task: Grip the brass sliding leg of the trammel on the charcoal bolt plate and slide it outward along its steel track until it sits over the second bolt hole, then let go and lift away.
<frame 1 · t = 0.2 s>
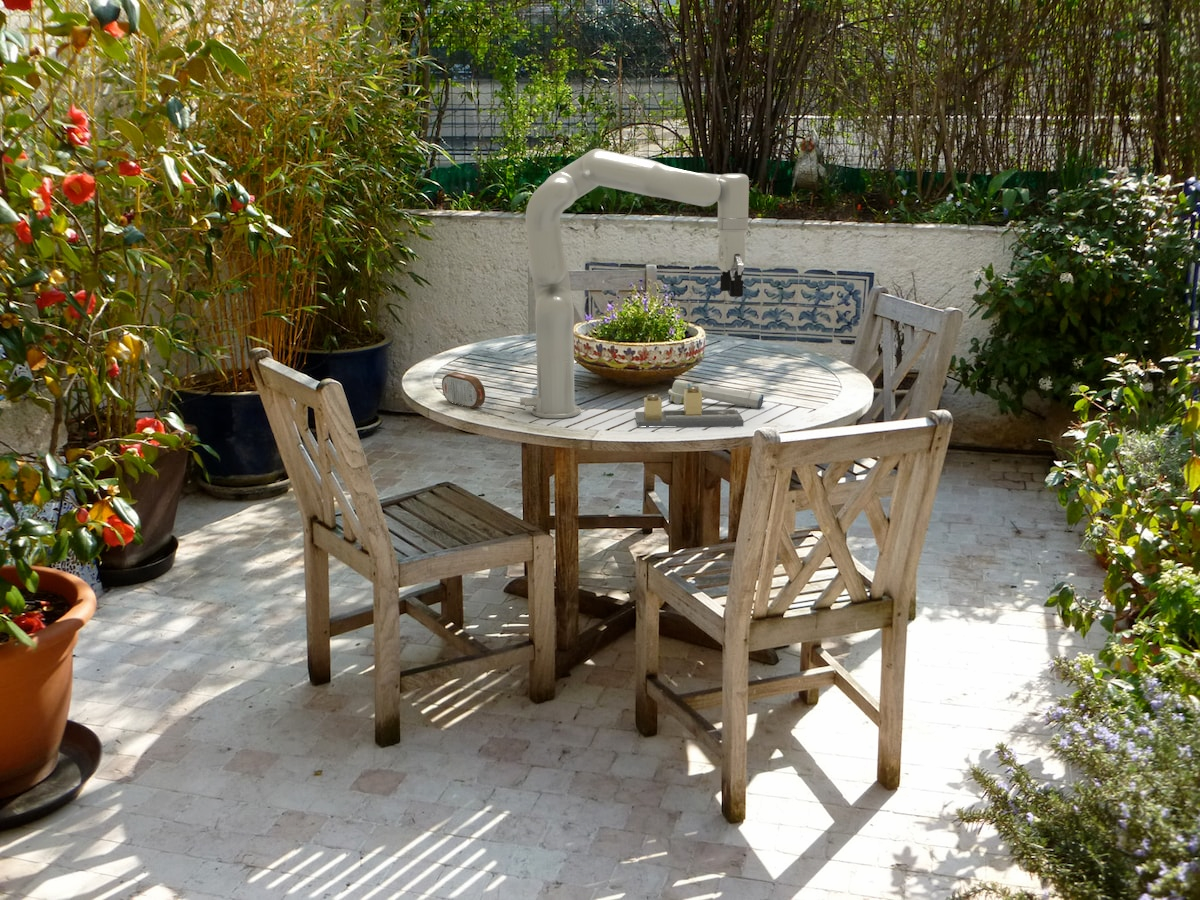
hand: (731, 293, 297), 31 cm above the table, tool pointing down, fingers open, 9 cm apart
sliding leg: (692, 400, 294), point 5 cm above the table, slide at 10.0 cm
fixed leg: (652, 422, 295), resting on bolt plate
bolt plate: (688, 421, 295), on the table
grey flashlight: (714, 406, 313), on the table
tin: (463, 406, 313), on the table
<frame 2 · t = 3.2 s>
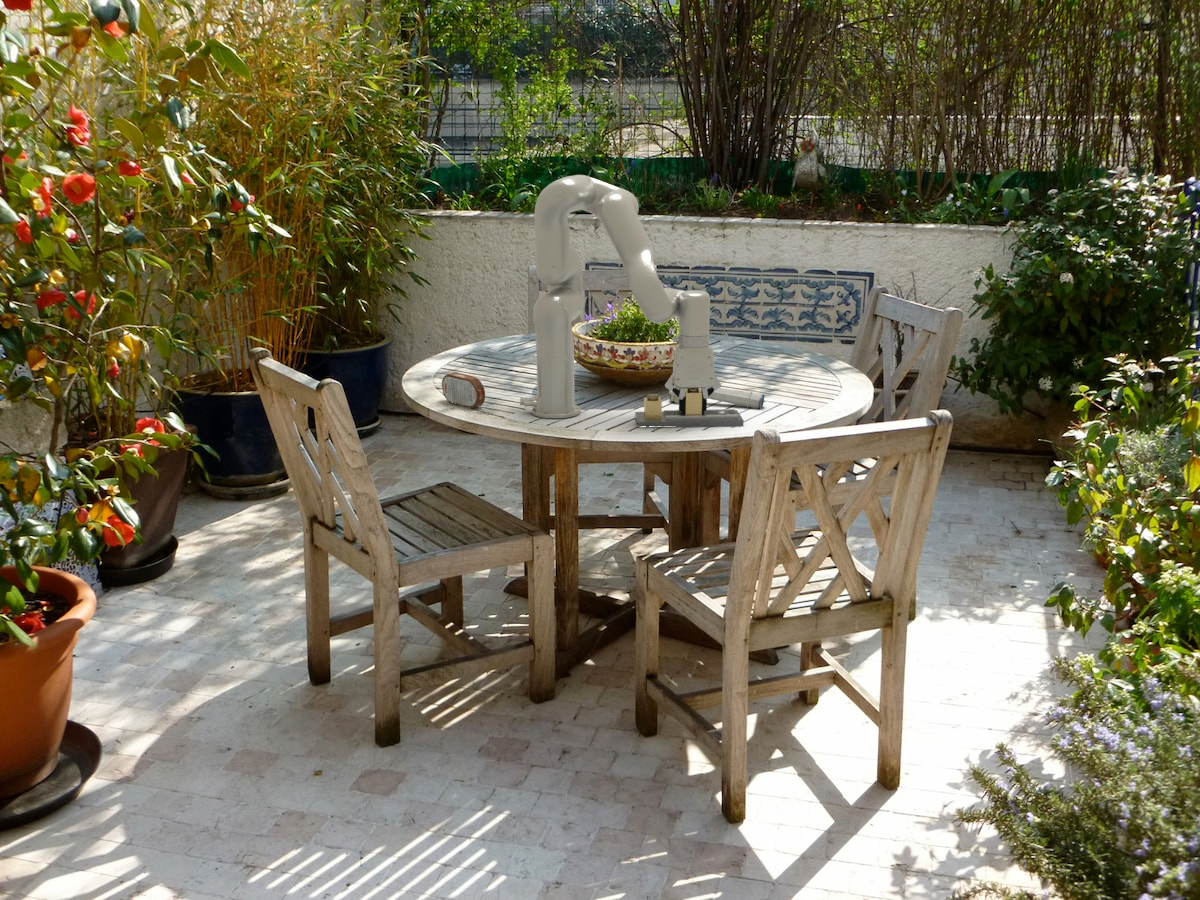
hand: (692, 412, 295), 2 cm above the table, tool pointing down, fingers closed on sliding leg, 4 cm apart
sliding leg: (692, 400, 294), point 5 cm above the table, slide at 10.0 cm, touching gripper
everything else where it was.
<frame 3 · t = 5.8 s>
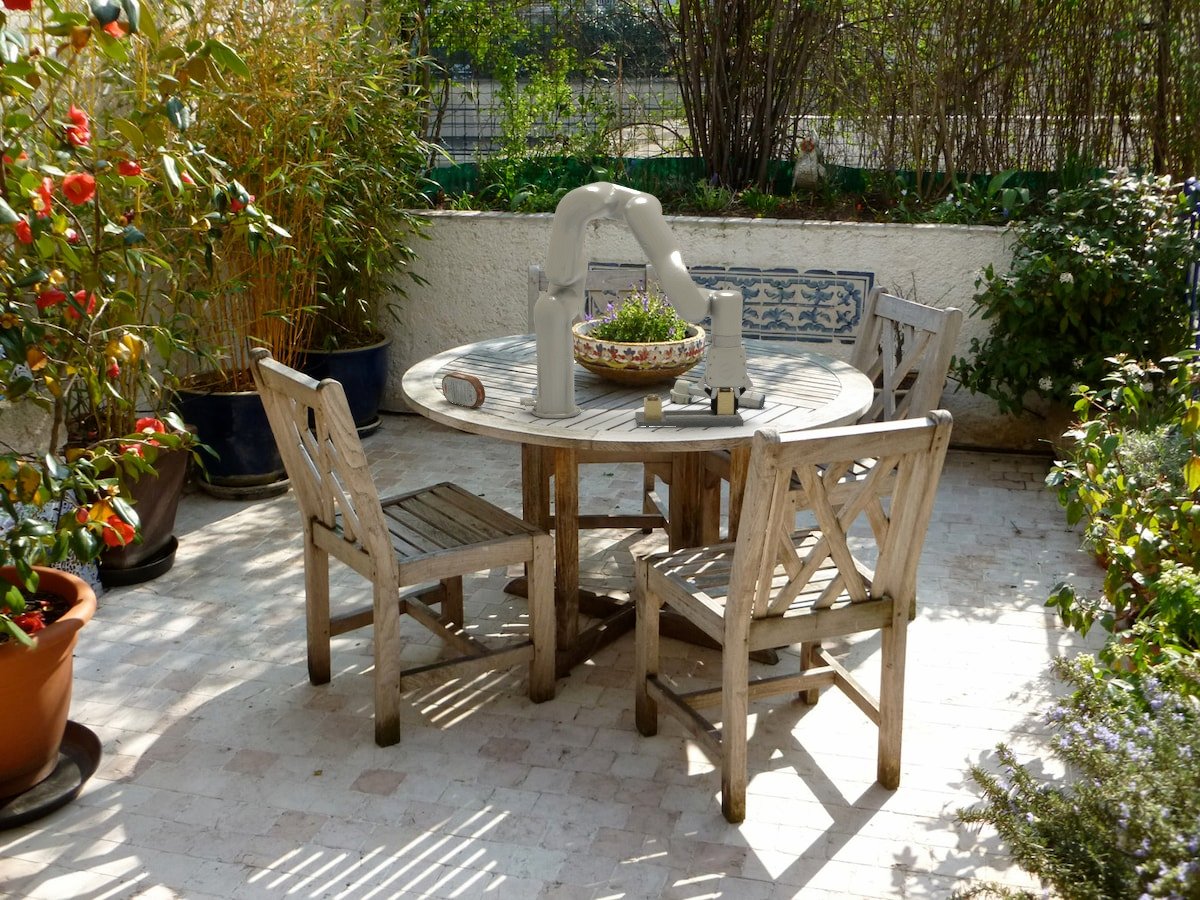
hand: (724, 412, 295), 2 cm above the table, tool pointing down, fingers closed on sliding leg, 4 cm apart
sliding leg: (724, 400, 294), point 5 cm above the table, slide at 18.0 cm, touching gripper
everything else where it was.
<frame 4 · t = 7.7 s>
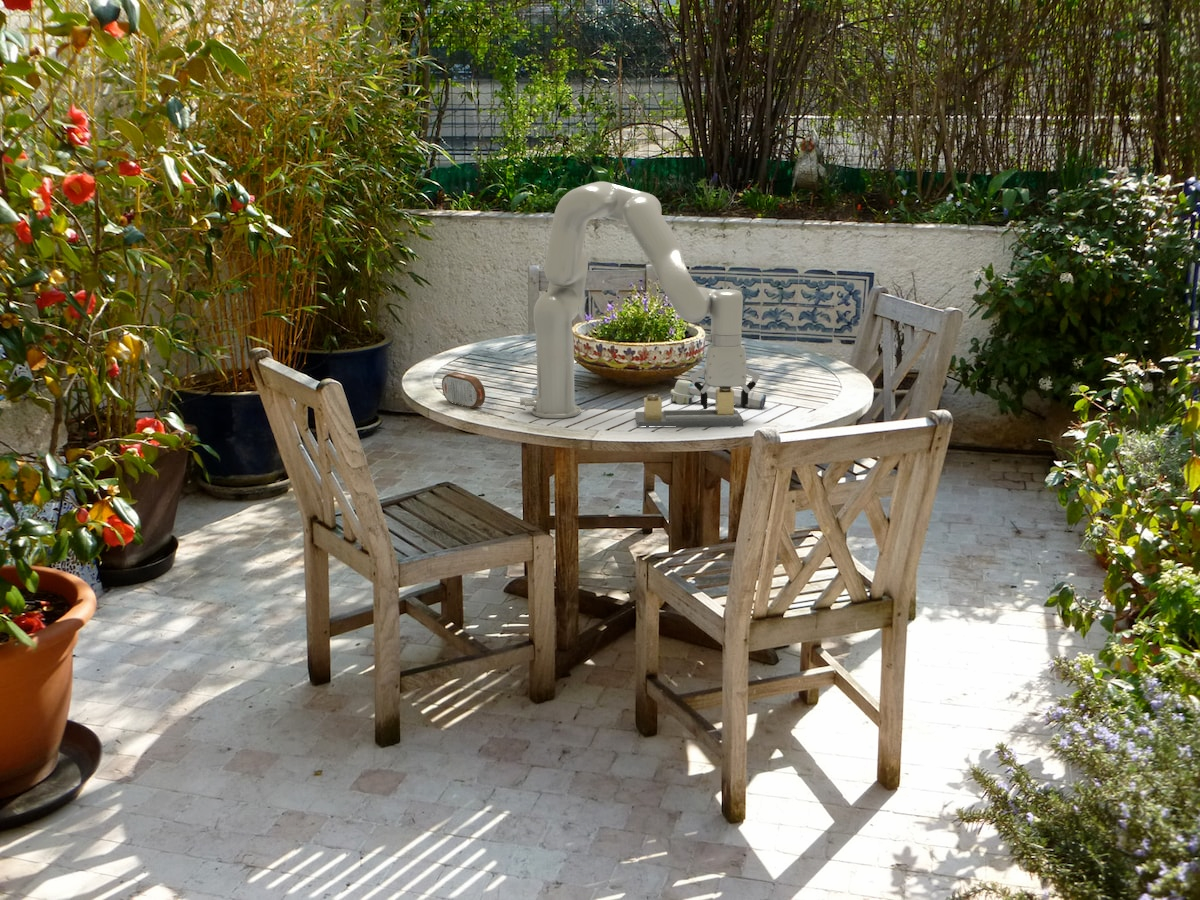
hand: (724, 407, 295), 3 cm above the table, tool pointing down, fingers open, 9 cm apart
sliding leg: (724, 400, 294), point 5 cm above the table, slide at 18.0 cm
everything else where it was.
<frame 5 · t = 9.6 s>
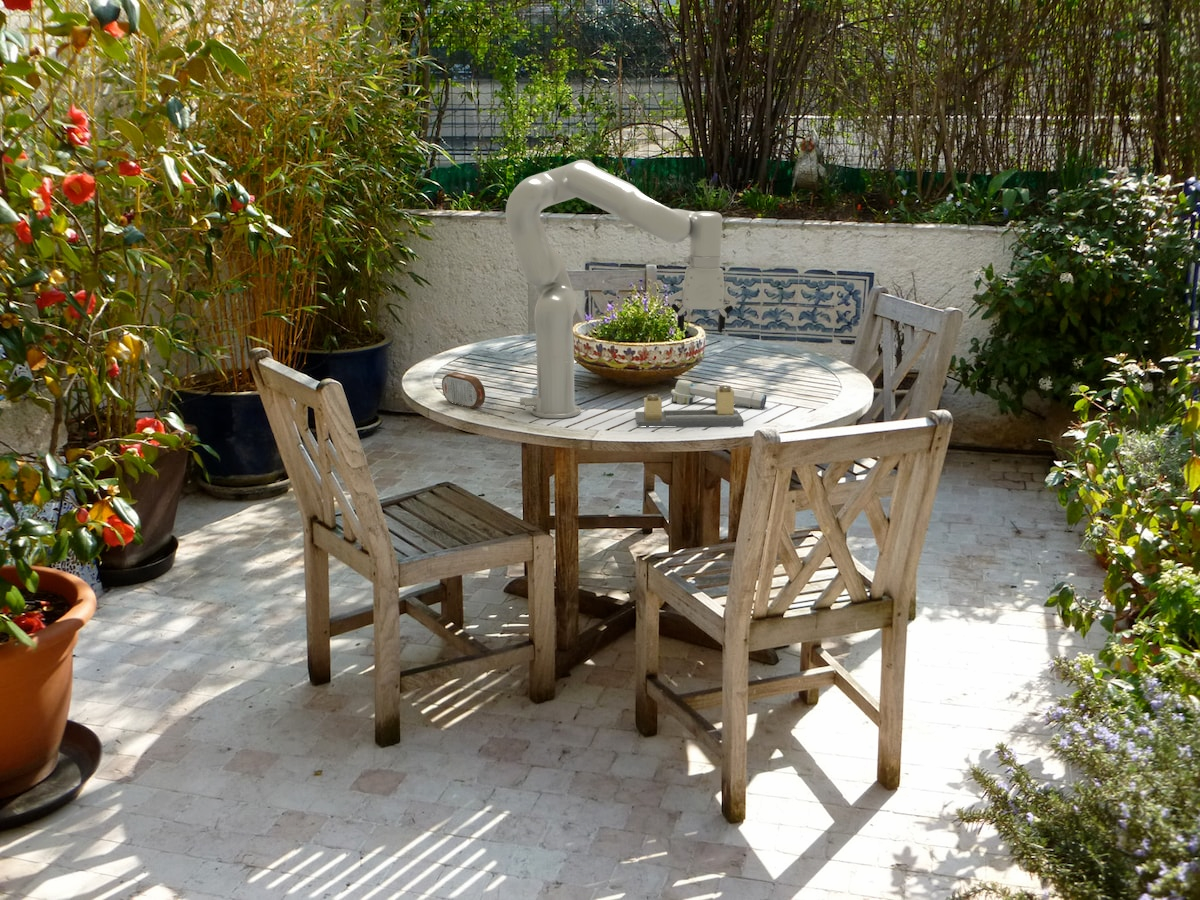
hand: (700, 331, 295), 22 cm above the table, tool pointing down, fingers open, 9 cm apart
nothing on the table moved.
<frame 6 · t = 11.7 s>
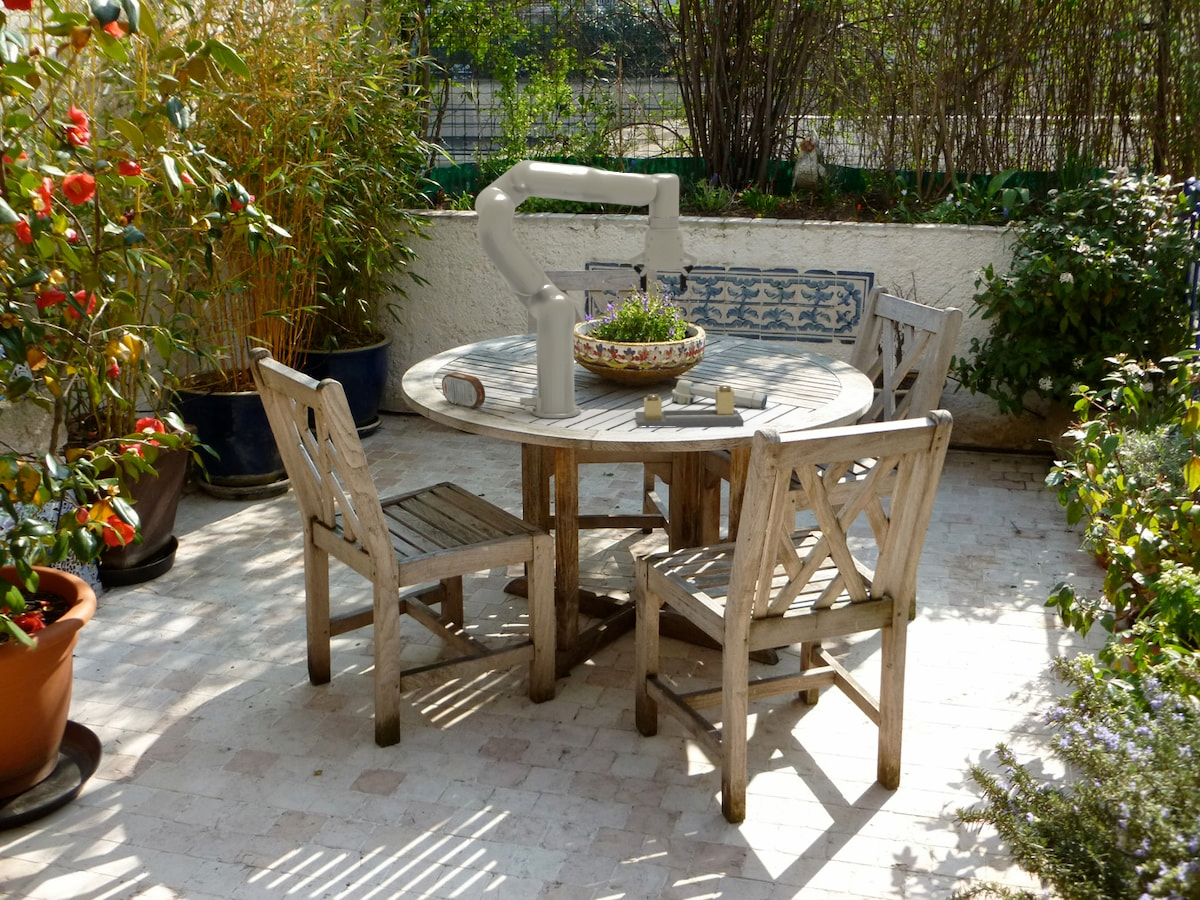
hand: (663, 291, 303), 30 cm above the table, tool pointing down, fingers open, 9 cm apart
nothing on the table moved.
at the end: sliding leg slide at 18.0 cm; the gripper is holding nothing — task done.
